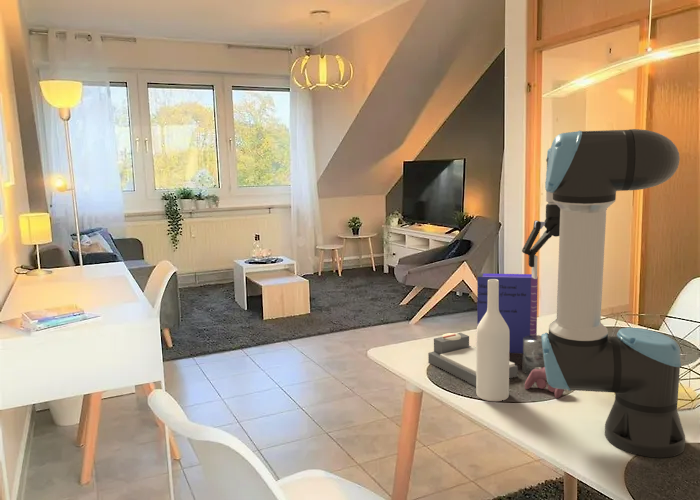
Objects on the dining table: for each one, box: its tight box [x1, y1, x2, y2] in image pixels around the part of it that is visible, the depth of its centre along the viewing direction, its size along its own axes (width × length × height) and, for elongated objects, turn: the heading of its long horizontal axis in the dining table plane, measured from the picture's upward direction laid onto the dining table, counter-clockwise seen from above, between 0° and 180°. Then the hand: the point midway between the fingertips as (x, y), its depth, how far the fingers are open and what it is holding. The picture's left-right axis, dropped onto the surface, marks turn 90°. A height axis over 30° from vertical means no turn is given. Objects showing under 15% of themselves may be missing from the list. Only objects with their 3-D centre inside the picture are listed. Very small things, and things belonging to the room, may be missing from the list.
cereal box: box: [476, 273, 539, 355], centre depth 177 cm, size 17×5×24 cm, turn 76°
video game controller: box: [524, 367, 565, 399], centre depth 148 cm, size 10×5×7 cm, turn 43°
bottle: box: [475, 279, 510, 402], centre depth 145 cm, size 8×8×30 cm
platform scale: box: [428, 332, 518, 387], centre depth 165 cm, size 23×14×8 cm, turn 28°
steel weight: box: [522, 334, 545, 375], centre depth 162 cm, size 8×8×9 cm
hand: (558, 277), depth 165 cm, fingers open, 13 cm apart
